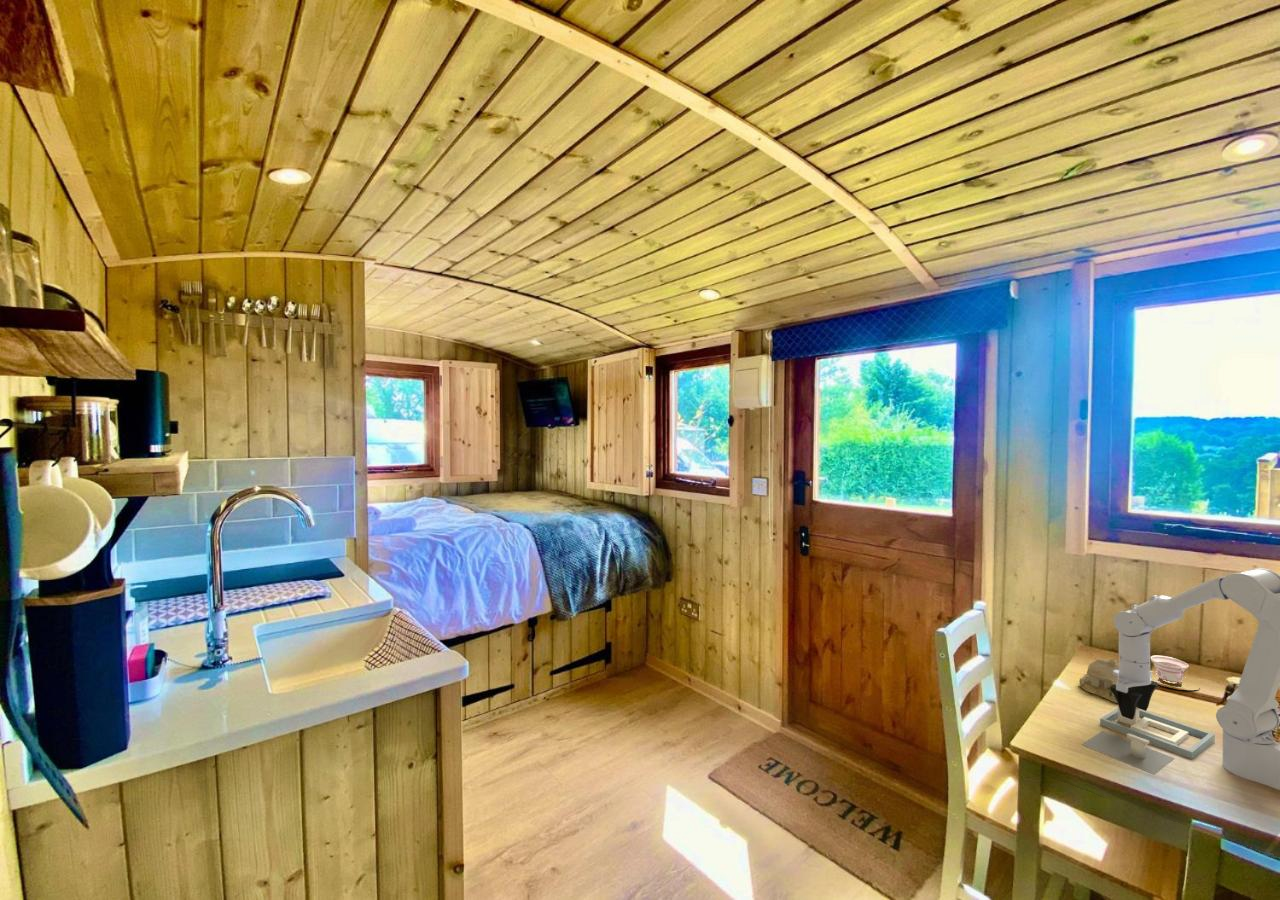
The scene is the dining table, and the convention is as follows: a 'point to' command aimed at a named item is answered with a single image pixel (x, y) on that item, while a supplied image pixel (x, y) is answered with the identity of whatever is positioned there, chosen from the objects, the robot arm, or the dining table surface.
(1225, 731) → the robot arm
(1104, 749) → the plate
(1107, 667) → the ceramic model
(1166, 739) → the square frame with tab
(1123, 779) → the dining table surface
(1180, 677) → the teacup
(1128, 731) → the tray
